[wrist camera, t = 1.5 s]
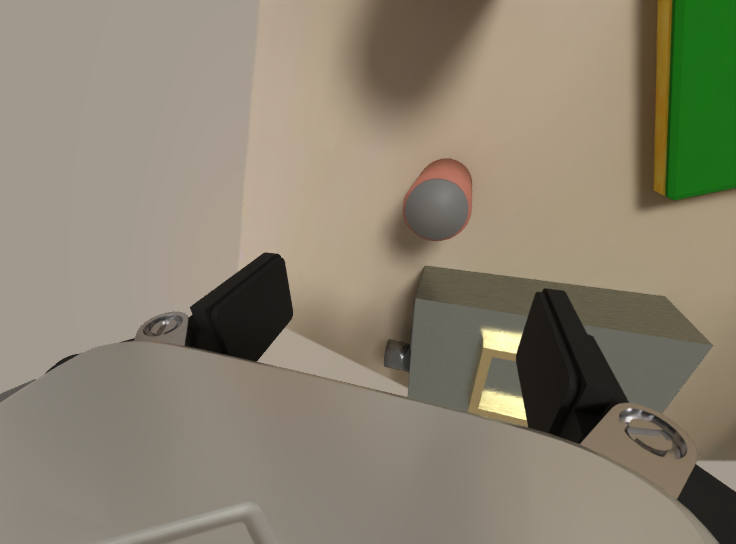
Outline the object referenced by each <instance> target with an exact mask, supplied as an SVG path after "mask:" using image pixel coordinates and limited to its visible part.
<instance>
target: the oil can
mask: <svg viewBox="0 0 736 544" xmlns="http://www.w3.org/2000/svg"><path fill="white" fill-rule="evenodd" d="M471 210H472V179H471V175H470V173H469V171H468V169H467V168H466V167H465V166H464V165H463V164H462V163H460V162H458V161H456V160H453V159H439V160H436V161H434V162H432V163H431V164H429V165H428V166H427V167H426V168H425V169H424V170H423V172H422V173H421V174H420V176H419V177H418V178H417V180H416V181H415V183H414V184H413V185H412V187H411V188H410V190H409V191H408V193H407V194H406V197H405V199H404V204H403V213H404V218H405V221H406V223H407V225H408V226H409V228H410V229H411V230H412V231H413V232H414V233H415V234H417V235H418V236H420V237H422V238H424V239H427V240H432V241H442V240H446V239H450V238H452V237H454V236H456V235H457V234H458V233H460V232H461V231H462V230H463V229H464V228H465V226H466V225H467V223H468V221H469V219H470V216H471Z"/></svg>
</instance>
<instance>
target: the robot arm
mask: <svg viewBox="0 0 736 544" xmlns="http://www.w3.org/2000/svg"><path fill="white" fill-rule="evenodd" d="M190 309H191V312H192V314H193V315H192V316H190V317H189V318H188V316H187V315H186V314H185V313H182V312H168V313H164V314H161V315H158V316H155V317H153V318H151V319H149V320H148V321H146V322H145V323H144V324H143V325H141V326H140V328H139V329H138V331H137V334H136V336H135V338H134V339H130V340H127V341H123V342H119V343H113V344H108V345H103V346H99V347H95V348H92V349H90V350H88V351H85V352H83V353H80V354H75V355H71V356H68V357H66V358H64V359H62V360H61V361H59V362H58V363H56V365H55V366H53V367H52V368H50V370H48V371H47V372H46V373H45V374H44V375H43V376H41V377H40V378H38V379H34V380H32V381H29V382H27V383H25V384H22V385H20V386H18V387H15V388H13V389H11V390H8V391H6V392H3V393H1V394H0V544H736V492H735V491H734V490H732V489H731V488H729V487H728V486H726V485H725V484H723V483H722V482H721V481H719V480H718V479H716V478H715V477H713V476H712V475H710V474H709V473H708V472H706V471H705V470H703V469H702V468H700V467H699V466H698V465H696V462H697V457H698V452H697V449H696V447H695V444H694V443H693V441H692V440H691V439H690V437H689V436H688V435H687V433H686V432H685V431H683V430H682V429H681V428H680V427H679V426H678V425H677V424H676V423H674V422H673V421H671V420H670V419H669V418H667V417H666V416H664V415H662V414H661V413H659V412H657V411H655V410H653V409H651V408H648V407H645V406H642V405H639V404H633V403H629V401H628V399H627V397H626V396H625V394H624V392H623V390H622V388H621V386H620V385H619V383H618V381H617V379H616V377H615V375H614V373H613V372H612V370H611V368H610V366H609V364H608V362H607V360H606V359H605V357H604V355H603V353H602V351H601V349H600V347H599V346H598V344H597V342H596V340H595V339H594V337H593V336H591V335H589V334H587V332H586V330H585V328H584V326H583V324H582V323H581V321H580V319H579V317H578V315H577V313H576V311H575V309H574V307H573V305H572V303H571V301H570V299H569V298H568V296H567V294H566V292H565V291H563V290H556V289H548V288H544V289H543V290H542V292H536V293H535V296H534V299H533V302H532V305H531V308H530V311H529V314H528V318H527V321H526V324H525V327H524V330H523V333H522V337H521V340H520V343H519V346H518V349H517V353H516V365H517V370H518V376H519V381H520V386H521V392H522V397H523V402H524V408H525V413H526V419H527V424H528V428H527V427H524V426H520V425H517V424H513V423H509V422H506V421H502V420H498V419H494V418H490V417H486V416H482V415H478V414H474V413H470V412H466V411H462V410H458V409H454V408H450V407H446V406H441V405H437V404H433V403H429V402H425V401H421V400H417V399H412V398H408V397H404V396H400V395H396V394H392V393H388V392H383V391H379V390H375V389H371V388H367V387H362V386H358V385H354V384H350V383H346V382H341V381H337V380H333V379H328V378H324V377H320V376H316V375H311V374H307V373H303V372H299V371H294V370H290V369H286V368H281V367H277V366H273V365H268V364H264V363H260V362H257V361H258V359H259V358H260V357H261V356H262V354H263V353H264V352H265V351H266V350H267V348H268V347H269V346H270V345H271V344H272V342H273V341H274V340H275V339H276V337H277V336H278V335H279V333H281V331H282V330H283V329H284V328H285V326H286V325H287V324H288V323H289V322H290V320H291V319H292V316H293V308H292V302H291V296H290V290H289V284H288V278H287V272H286V266H285V261H284V259H283V258H281V256H280V255H279V254H274V253H263V254H262V255H260V256H259V257H258V258H256V259H255V260H254V261H252V262H251V263H249V264H248V265H247V266H245V267H244V268H243V269H241V270H240V271H239V272H237V273H236V274H235V275H233V276H232V277H230V278H229V279H228V280H226V281H225V282H224V283H222V284H221V285H219V286H218V287H217V288H216V289H214V290H213V291H211V292H210V293H209V294H208V295H206V296H204V297H203V298H202V299H200V300H199V301H198V302H196V303H195V304H193V305H192V306H191V307H190Z"/></svg>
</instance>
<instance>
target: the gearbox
mask: <svg viewBox="0 0 736 544" xmlns="http://www.w3.org/2000/svg"><path fill="white" fill-rule="evenodd" d="M544 288H548V289H556V290H563V291H565V292H566V294H567V296H568V298H569V299H570V301H571V303H572V305H573V307H574V309H575V311H576V313H577V315H578V317H579V319H580V321H581V323H582V324H583V326H584V328H585V330H586V332H587V334H589V335H591V336H593V337H594V339H595V340H596V342H597V344H598V346H599V347H600V349H601V351H602V353H603V355H604V357H605V359H606V360H607V362H608V364H609V366H610V368H611V370H612V372H613V373H614V375H615V377H616V379H617V381H618V383H619V385H620V386H621V388H622V390H623V392H624V394H625V396H626V397H627V399H628V401H629V403H633V404H639V405H642V406H645V407H648V408H651V409H653V410H655V411H657V412H659V413H661V414H662V413H663V411H664V410H665V409H666V407H667V406H668V405H669V403H670V402H671V401H672V399H673V398H674V397H675V395H676V394H677V393H678V391H679V390H680V389H681V387H682V386H683V385H684V383H685V382H686V381H687V379H688V378H689V377H690V376H691V374H692V373H693V372H694V370H695V369H696V368H697V366H698V365H699V364H700V362H701V361H702V360H703V358H704V357H705V356H706V354H707V353H708V352H709V350H710V349H711V348H712V346H713V345H712V344H711V343H710V342H709V341H708V340H707V339H706V338H705V337H704V336H703V335H702V334H701V333H700V332H699V331H698V330H697V329H696V328H695V326H694V325H693V324H692V323H691V322H690V321H689V320H688V319H687V318H686V317H685V316H684V315H683V314H682V313H681V312H680V311H679V310H678V309H677V308H676V307H675V306H674V305H673V304H672V303H671V302H670V301H669V300H668V299H667V298H666V297H664V296H656V295H648V294H641V293H633V292H625V291H617V290H610V289H602V288H594V287H586V286H578V285H571V284H563V283H555V282H547V281H540V280H532V279H524V278H516V277H508V276H501V275H493V274H485V273H477V272H470V271H462V270H454V269H446V268H438V267H431V266H425V268H424V271H423V274H422V278H421V281H420V285H419V286H418V290H417V293H416V297H415V300H414V306H413V319H412V332H411V344H410V343H405V342H400V341H395V340H390V339H389V341H388V343H387V346H386V350H385V356H384V366H385V367H389V368H394V369H398V370H403V371H407V372H410V373H409V385H408V398H412V399H417V400H421V401H425V402H429V403H433V404H437V405H441V406H446V407H450V408H454V409H458V410H462V411H466V412H470V413H474V414H478V415H482V416H486V417H490V418H494V419H498V420H502V421H506V422H509V423H513V424H517V425H520V426H524V427H527V428H528V424H527V419H526V413H525V408H524V402H523V397H522V392H521V386H520V381H519V376H518V370H517V365H516V353H517V349H518V346H519V343H520V340H521V337H522V333H523V330H524V327H525V324H526V321H527V318H528V314H529V311H530V308H531V305H532V302H533V299H534V296H535V293H536V292H542V290H543V289H544Z"/></svg>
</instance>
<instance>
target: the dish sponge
mask: <svg viewBox="0 0 736 544" xmlns="http://www.w3.org/2000/svg"><path fill="white" fill-rule="evenodd" d="M732 188H736V0H658V18H657V64H656V109H655V154H654V191H656V192H658V193H660V194H662V195H664V196H666V197H668V198H670V199H672V200H679V199H684V198H689V197H693V196H698V195H703V194H708V193H713V192H718V191H723V190H727V189H732Z"/></svg>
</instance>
